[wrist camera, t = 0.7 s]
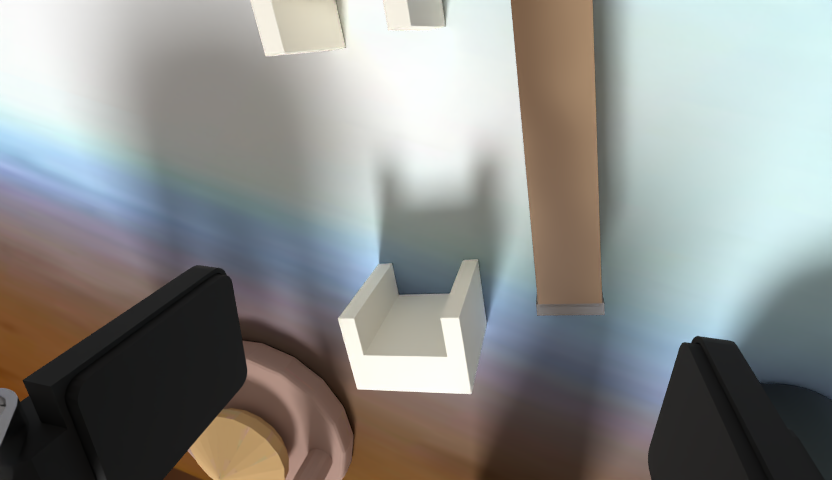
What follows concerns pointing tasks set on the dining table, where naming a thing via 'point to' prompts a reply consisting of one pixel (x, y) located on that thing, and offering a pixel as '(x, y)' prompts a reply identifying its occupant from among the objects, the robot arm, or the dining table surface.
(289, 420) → the hourglass
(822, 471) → the mug
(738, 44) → the dining table surface
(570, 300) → the rail
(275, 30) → the white u-channel cradle
